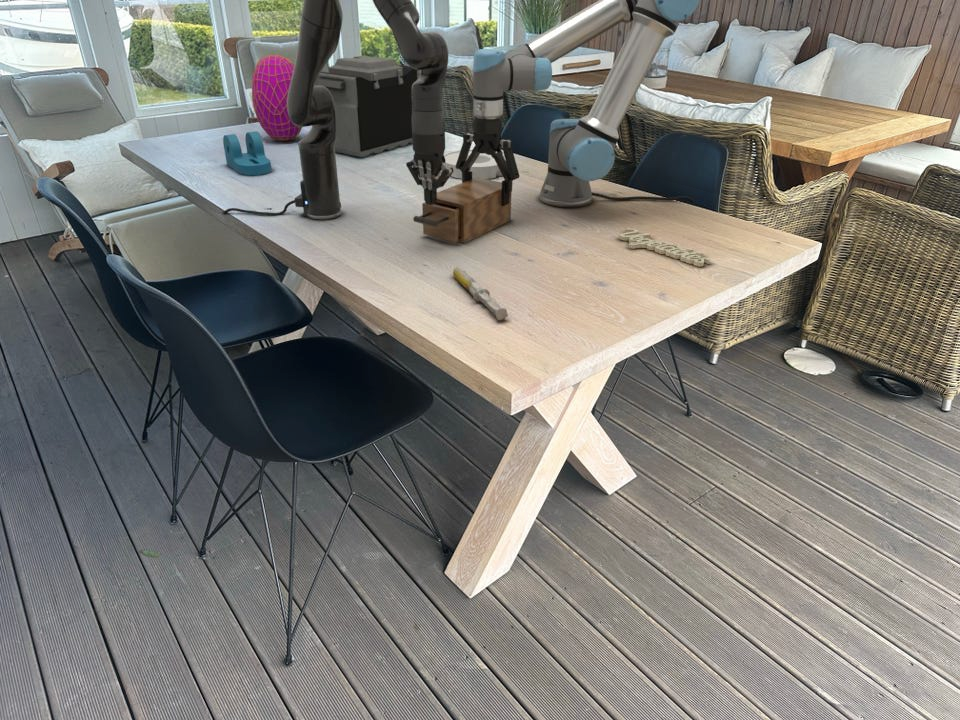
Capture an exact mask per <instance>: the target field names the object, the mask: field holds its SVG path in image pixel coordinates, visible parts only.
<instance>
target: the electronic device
mask: <svg viewBox="0 0 960 720" xmlns="http://www.w3.org/2000/svg"><path fill="white" fill-rule="evenodd" d="M418 79H419V70H416V69H413V68H412V67H410V66H409V65H400V64H396V62H395V60H394V59H393V58H385V57H377V56H367V55H356V56H353V57H350V58H349V57H343V58H342V57H341V58H337V59H336V60H335V63H334V64H333V65H330V66H329V67H328V72H327V71H321V72H320V73H319V75H318V77H317V80H316V83H315V86H324V87H326V88H327V89H328V90H329V91H330V93H331V95H332V97H333V101H334V105H335V119H336V142H335V153H340V154H344V155H348V156H353V157H357V158H362V159H363V158H366V157H367V158H368V157H369V155H371V154H375V155H377V154H381V153H382V152H383V151H391V150H395V149H396V148H397V147H405V146H407V145H408V144H412V120H411V119H412V96H411V89H412V85H413V83H414V82H416V81H417V80H418Z"/></svg>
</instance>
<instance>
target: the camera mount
mask: <svg viewBox="0 0 960 720" xmlns="http://www.w3.org/2000/svg"><path fill="white" fill-rule="evenodd" d="M222 140H223V141H222V143H223V149H224V150H223V151H224V156H225V161H226V165H227V166H228V167H230V168H231V169H232V170H234V171H236V172H237V173H238V174H239V175H244V176H260V175H265V174H268V173H271V172H272V164H271V159H270V158H268V157H267V156H266V153H265V145H264V141H263V139H262V136H261V134H260V132H258V131H247V132H246V133H245V146H246V152H243V151H242V150H243V149H242V146H241V142H240V140H239V138H238V135H236V134H235V133H231V134H224V135H223V138H222Z"/></svg>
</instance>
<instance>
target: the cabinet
mask: <svg viewBox="0 0 960 720" xmlns="http://www.w3.org/2000/svg"><path fill="white" fill-rule="evenodd" d="M501 199H502V181H497V180H493V179H483V178H478V177H476V178H473V179H471V180H468V181H466V182H463V183H462V182H461V183H458V184H456V185H455V184H454V185H453V186H451V187H448V188H445V189H442V190H439V191H437V202H438V203H442V204H446V205H450V206H455V207H459V208H461V236H460V237H458V241H457V242H456V243H460V244H465V243H467V242H470V241H472V240H474V239H476V238H478V237H480V236H482V235H484V234H486V233H488V232H490V231H492V230H495V229H496V228H498V227H500V226H502V225H504V224H507V223H509V222H511V219H512V218H511V217H512V192H511V193H510V196H509V204H507V205H505V206H501Z"/></svg>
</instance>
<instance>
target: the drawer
mask: <svg viewBox="0 0 960 720" xmlns="http://www.w3.org/2000/svg"><path fill="white" fill-rule="evenodd" d="M421 204H422V206H421V207H422V208H421V209H422V214H421V215H414V216H413V219H412V221H413V222H415V223H418V224H422V233H423V235H426V236H430V237H434V238H438V239H441V240H444V241H449V242H452V243H458V242H457V241H458V237H460V236H461V208H459V207H455V206H450V205H446V204H442V203H438V202H436V203H435V204H433V205H427V204H426V203H425V201H424V202H422V203H421Z"/></svg>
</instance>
